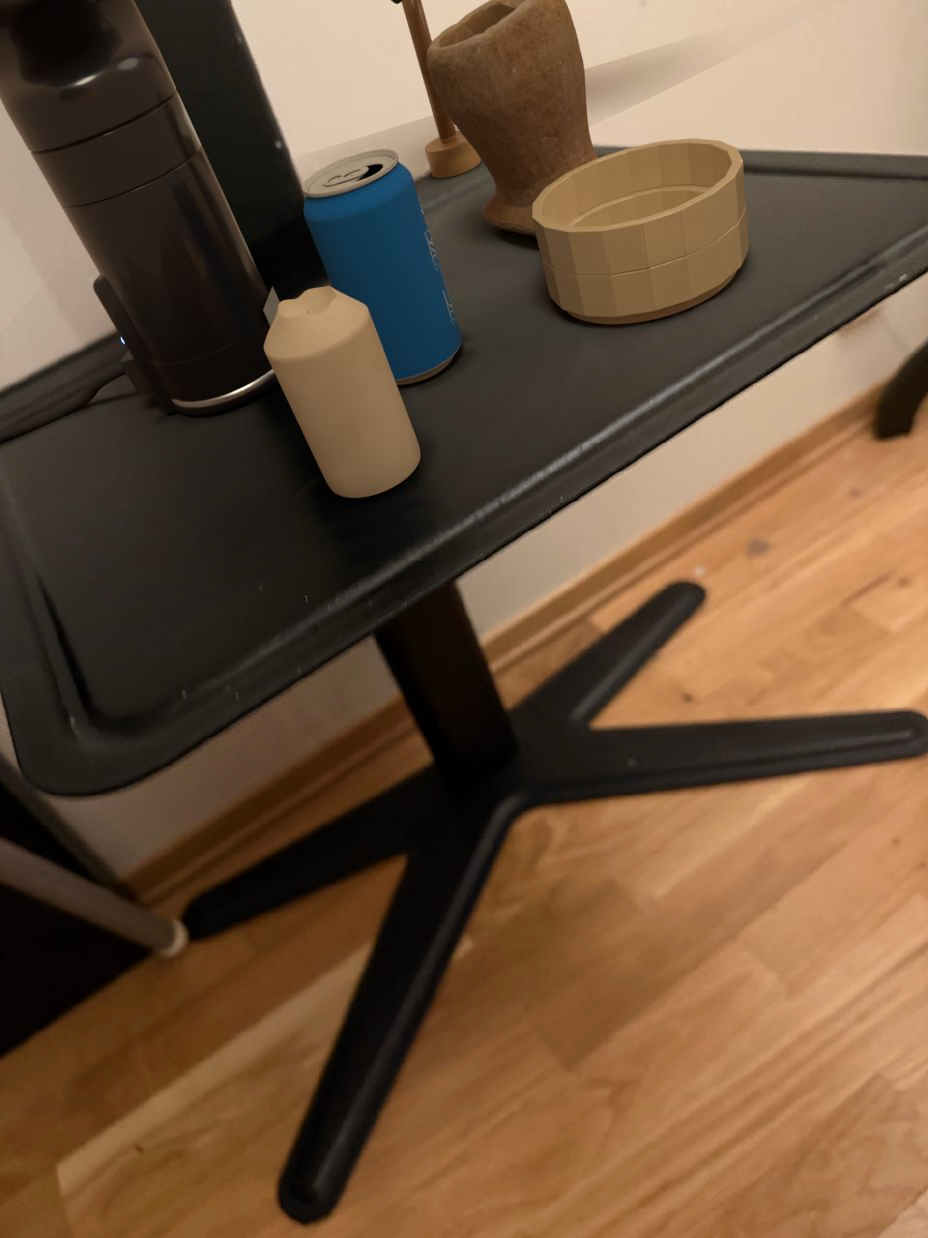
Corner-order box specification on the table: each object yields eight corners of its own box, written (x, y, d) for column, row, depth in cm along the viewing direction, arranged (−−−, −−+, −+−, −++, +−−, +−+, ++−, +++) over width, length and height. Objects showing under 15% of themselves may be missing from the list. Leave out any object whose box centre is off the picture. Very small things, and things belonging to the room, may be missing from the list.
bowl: (553, 348, 54) (530, 251, 50) (552, 262, 63) (532, 174, 59) (764, 299, 51) (758, 192, 47) (732, 216, 60) (724, 120, 56)
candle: (385, 505, 47) (310, 330, 40) (309, 493, 50) (228, 328, 43) (440, 443, 50) (379, 271, 43) (365, 435, 53) (297, 272, 46)
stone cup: (449, 243, 71) (385, 27, 61) (569, 178, 73) (526, -39, 63) (562, 283, 60) (507, 28, 50) (698, 206, 62) (670, -51, 52)
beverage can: (464, 376, 54) (400, 173, 47) (364, 401, 56) (285, 208, 48) (466, 327, 59) (408, 135, 51) (374, 351, 60) (303, 168, 53)
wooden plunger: (430, 183, 83) (367, -29, 72) (434, 165, 86) (375, -40, 75) (480, 168, 82) (424, -49, 71) (482, 151, 85) (429, -59, 74)
